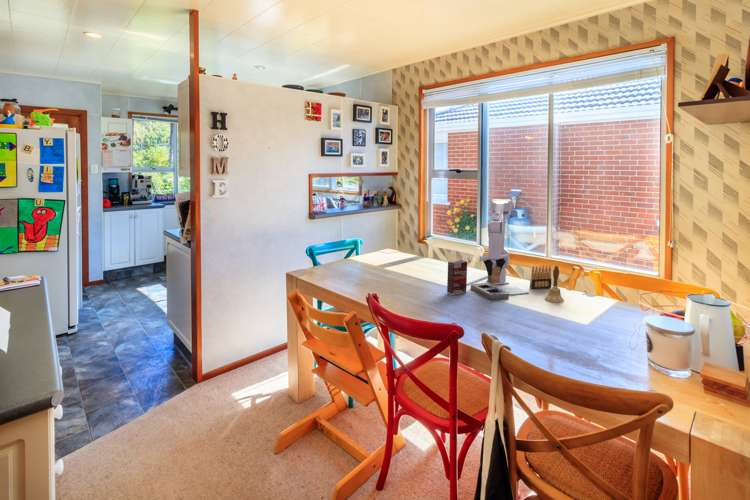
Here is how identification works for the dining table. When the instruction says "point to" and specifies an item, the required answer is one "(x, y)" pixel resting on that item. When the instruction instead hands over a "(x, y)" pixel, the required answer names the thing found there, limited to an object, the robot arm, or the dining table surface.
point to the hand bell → (554, 289)
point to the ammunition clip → (540, 278)
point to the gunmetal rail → (489, 291)
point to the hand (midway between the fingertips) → (493, 274)
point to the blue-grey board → (514, 291)
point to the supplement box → (457, 277)
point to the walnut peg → (494, 275)
